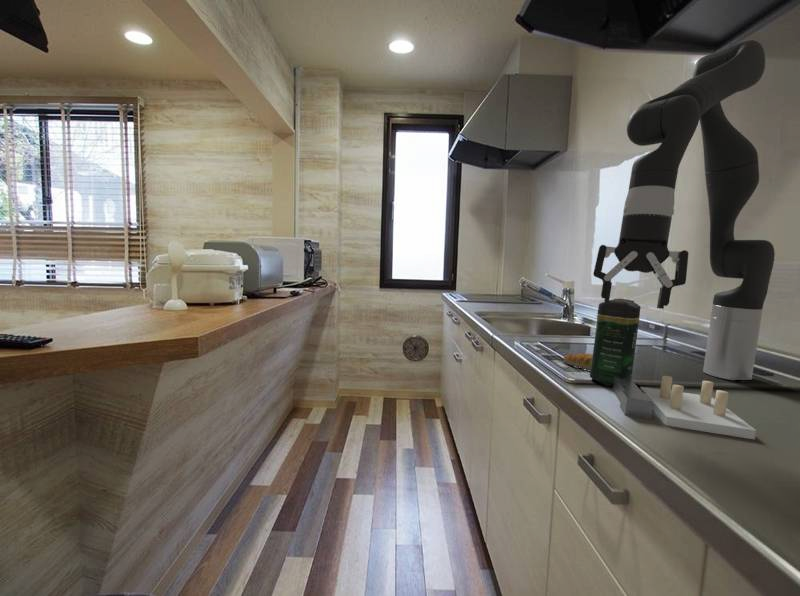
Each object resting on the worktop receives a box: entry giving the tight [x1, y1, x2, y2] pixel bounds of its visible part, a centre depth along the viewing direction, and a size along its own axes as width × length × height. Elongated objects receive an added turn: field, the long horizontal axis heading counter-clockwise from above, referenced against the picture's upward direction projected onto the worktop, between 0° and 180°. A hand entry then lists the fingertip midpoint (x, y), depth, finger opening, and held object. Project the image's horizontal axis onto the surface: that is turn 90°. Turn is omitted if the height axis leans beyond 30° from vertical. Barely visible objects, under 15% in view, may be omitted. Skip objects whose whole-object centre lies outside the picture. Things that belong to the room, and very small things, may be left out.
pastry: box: [563, 352, 593, 372], centre depth 98 cm, size 9×7×4 cm
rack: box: [639, 375, 757, 440], centre depth 70 cm, size 16×12×6 cm
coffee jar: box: [589, 298, 641, 387], centre depth 86 cm, size 10×8×19 cm
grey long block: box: [612, 376, 654, 420], centre depth 74 cm, size 14×4×3 cm, turn 162°
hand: (632, 305), depth 71 cm, fingers open, 8 cm apart
